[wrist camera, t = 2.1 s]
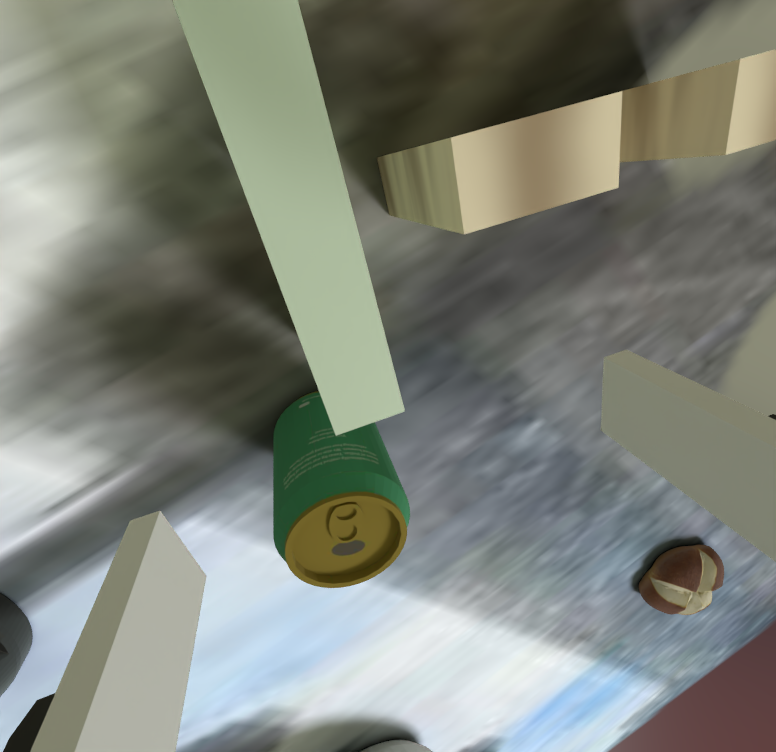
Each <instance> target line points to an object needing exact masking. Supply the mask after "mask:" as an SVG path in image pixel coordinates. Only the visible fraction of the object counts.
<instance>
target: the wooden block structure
mask: <svg viewBox="0 0 776 752" xmlns="http://www.w3.org/2000/svg"><path fill="white" fill-rule="evenodd" d="M773 140H776V50H772V51H768V52H765V53H761V54H757V55H753V56H750V57H746V58H742V59H738V60H735V61H731V62H728V63H724V64H720V65H716V66H713V67H709V68H705V69H702V70H698V71H694V72H691V73H687V74H683V75H680V76H676V77H672V78H669V79H665V80H661V81H657V82H654V83H650V84H646V85H643V86H639V87H635V88H632V89H628V90H624V91H620V92H617V93H613V94H609V95H606V96H602V97H598V98H595V99H591V100H587V101H584V102H580V103H576V104H573V105H569V106H565V107H562V108H558V109H554V110H550V111H547V112H543V113H539V114H536V115H532V116H528V117H525V118H521V119H517V120H514V121H510V122H506V123H503V124H499V125H495V126H492V127H488V128H484V129H480V130H477V131H473V132H469V133H466V134H462V135H458V136H455V137H451V138H447V139H444V140H440V141H436V142H433V143H429V144H425V145H422V146H418V147H414V148H410V149H407V150H403V151H399V152H396V153H392V154H388V155H385V156H381V157H377V161H378V165H379V170H380V174H381V179H382V183H383V188H384V192H385V197H386V202H387V206H388V211H389V215H390V216H394V217H398V218H402V219H406V220H410V221H414V222H418V223H422V224H425V225H429V226H433V227H437V228H441V229H445V230H449V231H453V232H457V233H461V234H467V233H470V232H474V231H477V230H480V229H484V228H487V227H490V226H493V225H497V224H500V223H503V222H507V221H510V220H513V219H517V218H520V217H523V216H526V215H530V214H533V213H536V212H540V211H543V210H546V209H549V208H553V207H556V206H559V205H563V204H566V203H569V202H572V201H576V200H579V199H582V198H586V197H589V196H592V195H596V194H599V193H602V192H605V191H609V190H612V189H615V188H618V185H619V162H630V161H645V160H659V159H674V158H688V157H704V156H718V155H727V154H730V153H734V152H737V151H740V150H744V149H747V148H750V147H754V146H757V145H760V144H763V143H767V142H770V141H773Z"/></svg>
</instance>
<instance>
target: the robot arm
mask: <svg viewBox="0 0 776 752" xmlns="http://www.w3.org/2000/svg"><path fill="white" fill-rule="evenodd" d="M601 431H603V432H604V433H605V434H607V435H608V436H609V437H611V438H612V439H613V440H615V441H616V442H617V443H619V444H620V445H621V446H623V447H624V448H625V449H626V450H628V451H629V452H630V453H632V454H633V455H634V456H636V457H637V458H638V459H640V460H641V461H642V462H644V463H645V464H646V465H648V466H649V467H650V468H652V469H653V470H654V471H656V472H657V473H658V474H660V475H661V476H662V477H664V478H665V479H666V480H668V481H669V482H670V483H672V484H673V485H674V486H676V487H677V488H678V489H680V490H681V491H682V492H684V493H685V494H686V495H688V496H689V497H690V498H692V499H693V500H694V501H695V502H697V503H698V504H699V505H701V506H702V507H703V508H705V509H706V510H707V511H709V512H710V513H711V514H713V515H714V516H715V517H717V518H718V519H719V520H721V521H722V522H723V523H725V524H726V525H727V526H729V527H730V528H731V529H733V530H734V531H735V532H737V533H738V534H739V535H741V536H742V537H743V538H745V539H746V540H747V541H749V542H750V543H751V544H753V545H754V546H755V547H757V548H758V549H759V550H761V551H762V552H763V553H764V554H766V555H767V556H768V557H770V558H771V559H772V560H774V561H775V562H776V415H774V414H772V415H770V416H766V415H764V414H762V413H760V412H758V411H755V410H753V409H751V408H749V407H747V406H745V405H743V404H740V403H738V402H736V401H734V400H732V399H730V398H728V397H726V396H724V395H721V394H719V393H717V392H715V391H713V390H711V389H709V388H707V387H704V386H702V385H700V384H698V383H696V382H694V381H692V380H690V379H687V378H685V377H683V376H681V375H679V374H677V373H675V372H672V371H670V370H668V369H666V368H664V367H662V366H660V365H658V364H655V363H653V362H651V361H649V360H647V359H645V358H643V357H641V356H638V355H636V354H634V353H632V352H630V351H628V350H624V351H621V352H619V353H616V354H613V355H610V356H607V357H604V369H603V392H602V416H601ZM205 580H206V575H205V573H204V572H203V571H202V569H201V568H200V566H199V565H198V563H197V562H196V561H195V559H194V558H193V556H192V555H191V554H190V552H189V551H188V549H187V548H186V546H185V545H184V544H183V542H182V541H181V539H180V538H179V537H178V535H177V534H176V532H175V531H174V530H173V528H172V527H171V525H170V524H169V522H168V521H167V520H166V518H165V517H164V515H163V514H162V513H161V511H157V512H154V513H152V514H149V515H146V516H143V517H140V518H137V519H134V520H131V521H130V522H129V524H128V527H127V529H126V531H125V534H124V536H123V538H122V541H121V543H120V545H119V548H118V550H117V552H116V554H115V557H114V559H113V561H112V564H111V566H110V568H109V571H108V573H107V575H106V578H105V580H104V582H103V585H102V587H101V589H100V591H99V594H98V596H97V598H96V601H95V603H94V605H93V608H92V610H91V612H90V615H89V617H88V619H87V621H86V624H85V626H84V628H83V631H82V633H81V635H80V638H79V640H78V642H77V645H76V647H75V649H74V652H73V654H72V656H71V658H70V661H69V663H68V665H67V668H66V670H65V672H64V675H63V677H62V679H61V682H60V684H59V686H58V689H57V691H56V693H54V694H52V695H49V696H47V697H44V698H42V699H39V700H37V701H36V702H35V704H34V705H33V707H32V708H31V709H30V711H29V712H28V713H27V715H26V716H25V718H24V719H23V720H22V722H21V723H20V724H19V726H18V727H17V728H16V730H15V731H14V733H13V734H12V735H11V737H10V738H9V740H8V742H7V744H6V747H5V749H4V751H3V752H175V750H176V745H177V739H178V733H179V728H180V722H181V716H182V711H183V705H184V699H185V694H186V688H187V682H188V677H189V671H190V665H191V660H192V654H193V648H194V643H195V637H196V631H197V626H198V620H199V614H200V609H201V603H202V597H203V592H204V586H205ZM32 637H33V636H32V629H31V625H30V623H29V621H28V619H27V617H26V616H25V614H24V613H23V612H22V610H21V609H20V608H19V607H18V606H17V605H15V604H14V603H13V602H12V601H11V600H9V599H8V598H6V597H5V596H3V595H2V594H0V696H1V695H2V694H3V693H4V692H5V691H6V690H7V688H8V687H9V686H10V684H11V683H12V682H13V680H14V679H15V677H16V675H17V673H18V671H19V670H20V668H21V666H22V664H23V662H24V660H25V658H26V656H27V654H28V652H29V650H30V648H31V644H32Z"/></svg>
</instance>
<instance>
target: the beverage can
mask: <svg viewBox="0 0 776 752" xmlns="http://www.w3.org/2000/svg"><path fill="white" fill-rule="evenodd" d="M273 439H274V542H275V546H276V549H277V550H278V552H279V554H280V556H281V557H282V558H283V559H284V560H285V561H286V562H287V564H288V566H289V568H290V570H291V571H292V572H293V574H294V575H295V576H297V577H298V578H299V579H300V580H302V581H304V582H306V583H308V584H311V585H314V586H319V587H325V588H340V587H346V586H351V585H355V584H359V583H361V582H364V581H367V580H369V579H371V578H373V577H375V576H376V575H378V574H379V573H381V572H382V571H384V570H385V569H386V568H387V567H389V566H390V565H391V564H392V563H393V562H394V561H395V559H396V558H397V557H398V555H399V554H400V552H401V551H402V549H403V547H404V544H405V541H406V536H407V526H408V523H409V517H410V507H409V503H408V499H407V497H406V494H405V492H404V490H403V487H402V485H401V483H400V480H399V478H398V476H397V473H396V471H395V469H394V466H393V464H392V462H391V459H390V457H389V455H388V452H387V450H386V448H385V445H384V443H383V441H382V438H381V436H380V434H379V431H378V429H377V427H376V424H375V422H373V423H370V424H368V425H365V426H362V427H359V428H356V429H353V430H351V431H348V432H345V433H342V434H339V435H337V436H336V435H335V432H334V430H333V427H332V424H331V422H330V419H329V416H328V414H327V411H326V408H325V406H324V403H323V400H322V398H321V395H320V392H319V391H316V392H312V393H309V394H307V395H305V396H302V397H301V398H299V399H298V400H296V401H295V402H294V403H292V404H291V405H290V406H289V407H288V408H287V409H286V410H285V411H284V412H283V413H282V414H281V416H280V418H279V419H278V421H277V424H276V426H275V430H274V435H273Z"/></svg>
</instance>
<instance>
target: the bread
mask: <svg viewBox="0 0 776 752" xmlns="http://www.w3.org/2000/svg"><path fill="white" fill-rule="evenodd" d="M723 578H724V567H723V563H722V560H721V559H720V557H719V555H718V554H717V553H716V552H715V551H714V550H713V549H712V548H711V547H709V546H706V545H694V546H681V547H677V548H674V549H671V550H669V551H666V552H664V553H663V554H661V555H660V556H659V557H658V558H657V559H656V560H655V562H654V564H653V565H652V567H651V569H650V570H649V571H647V572H646V574H645V575H644V576H643V578H642V579H641V581H640V583H639V591H640V594H641V596H642V597H643V599H644V600H645V601H646V602H647V603H648V604H649V605H650V606H652V607H653V608H655V609H657V610H659V611H662V612H664V613H667V614H676V613H677V614H682V615H691V614H695V613H697V612H699V611H701V610H703V609H705V608H706V607H708V606H709V605H710V603H711V600H712V591H714V590H716V589H718V588H720V587H721V586H722V584H723Z"/></svg>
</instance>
